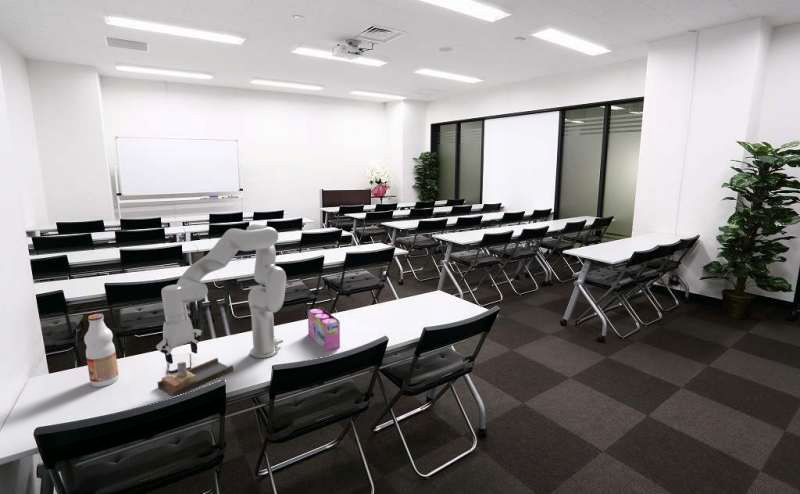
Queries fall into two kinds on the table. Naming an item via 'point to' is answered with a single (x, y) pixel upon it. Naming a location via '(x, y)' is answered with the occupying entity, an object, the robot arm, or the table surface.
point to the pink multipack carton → (324, 328)
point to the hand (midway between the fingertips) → (182, 357)
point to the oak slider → (183, 375)
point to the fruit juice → (100, 353)
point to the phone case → (177, 359)
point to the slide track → (203, 376)
